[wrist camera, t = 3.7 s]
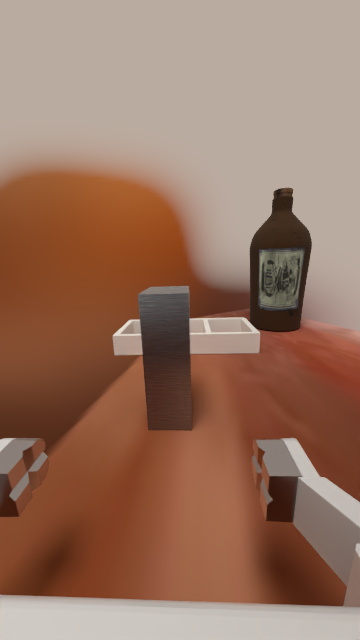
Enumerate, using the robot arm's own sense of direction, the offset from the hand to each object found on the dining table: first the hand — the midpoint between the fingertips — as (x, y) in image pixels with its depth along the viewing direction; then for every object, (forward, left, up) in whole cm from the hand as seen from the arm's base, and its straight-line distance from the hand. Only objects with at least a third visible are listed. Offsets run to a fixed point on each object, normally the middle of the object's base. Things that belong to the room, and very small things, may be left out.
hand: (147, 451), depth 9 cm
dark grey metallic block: (0, -11, -6) cm, 12 cm away
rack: (-1, -29, -6) cm, 30 cm away
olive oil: (-19, -39, -6) cm, 43 cm away
